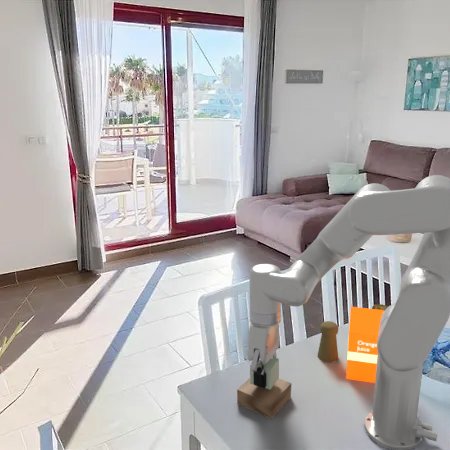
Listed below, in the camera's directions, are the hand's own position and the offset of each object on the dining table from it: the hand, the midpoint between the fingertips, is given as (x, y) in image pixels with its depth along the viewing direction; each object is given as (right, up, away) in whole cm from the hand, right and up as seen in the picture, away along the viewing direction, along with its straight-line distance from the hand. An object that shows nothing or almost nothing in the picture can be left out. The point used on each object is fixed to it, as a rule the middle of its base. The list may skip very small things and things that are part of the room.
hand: (264, 378), depth 117 cm
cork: (+21, 0, +21) cm, 29 cm away
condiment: (+39, +2, +29) cm, 48 cm away
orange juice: (+28, -3, +12) cm, 31 cm away
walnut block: (0, -6, +2) cm, 7 cm away
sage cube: (0, -1, 0) cm, 1 cm away
